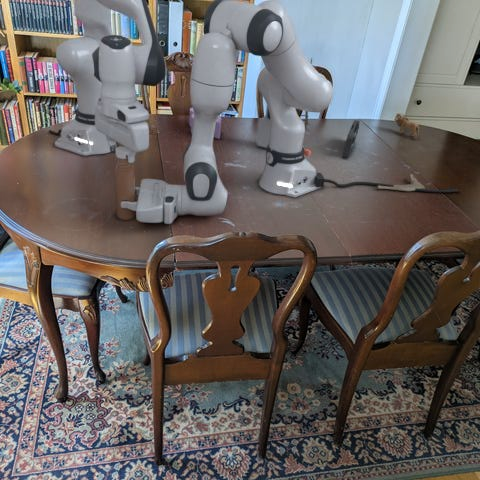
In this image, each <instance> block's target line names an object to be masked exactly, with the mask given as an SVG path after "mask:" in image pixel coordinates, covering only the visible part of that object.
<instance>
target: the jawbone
mask: <svg viewBox="0 0 480 480" xmlns="http://www.w3.org/2000/svg"><path fill="white" fill-rule="evenodd" d="M409 179H410V184H409V183H408V184H393V185H394V186H393V187H387V186H380V185H378V186H376V188H377V189H380V190H391V191H400V192H409V193H410V192H416V191H415V190H416V189H415V188H419V189H426V187H425V185H424V184H422V183H421V182H419V181H418V179H417V177H415V176H414V174H413V173H410V174H409Z"/></svg>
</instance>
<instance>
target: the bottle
mask: <svg viewBox="0 0 480 480" xmlns="http://www.w3.org/2000/svg"><path fill="white" fill-rule="evenodd" d="M113 172H114V188H115V190H114V191H115V192H114V193H115V209H116V217H117V218H118V219H120V220H125V221H126V220H133V219H134V218H136V211H133V210H130V209H128V208H121V201H122V200H128V202H132V203H133V202H136V195H135V187H136V170H135V167H134V165H133V162H132V163H129V162H128V161H126V159H121V158H117V161H116V164H115V167H114V171H113Z"/></svg>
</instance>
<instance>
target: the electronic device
mask: <svg viewBox="0 0 480 480" xmlns="http://www.w3.org/2000/svg"><path fill="white" fill-rule="evenodd" d="M265 110H266V111H265V114H264V116H263V117H262V118H260V120H259V125H258V128H257V132H256V137H255V146H257V148H261V149H265V150H267V145H268V144H269V139H270V129H271V119H270V113H269V109H268V106H267V105H266V109H265Z"/></svg>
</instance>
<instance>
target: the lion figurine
mask: <svg viewBox="0 0 480 480" xmlns="http://www.w3.org/2000/svg"><path fill="white" fill-rule="evenodd" d="M394 123H395V124H396V125H397V127H399V131H398V132H397V134H399V135H401V134H402V133H403V132H404V130H411V133H412V134H411V135H410V136H411V137H412V139H413V140H416V139H417V137H418V139H420V140H421V139H422V137H421V136H420V127H419V126H420V125H419V124H418V122H417V123H416V122H413V121H410V120H409V119H408V117H407V116H406V115H405V114H403V113H402V112H398V113H396V115H395V117H394ZM414 137H416V138H414Z"/></svg>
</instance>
